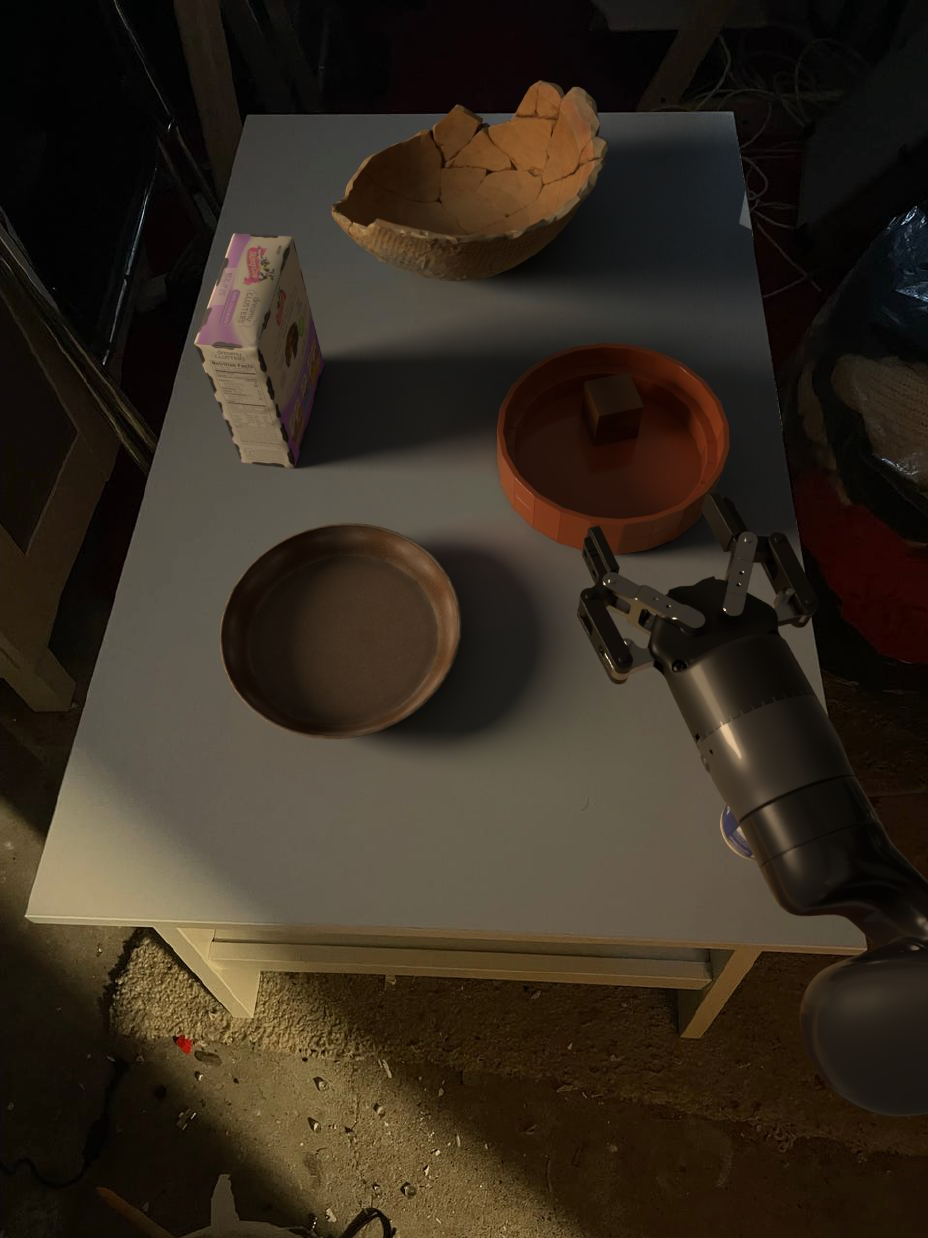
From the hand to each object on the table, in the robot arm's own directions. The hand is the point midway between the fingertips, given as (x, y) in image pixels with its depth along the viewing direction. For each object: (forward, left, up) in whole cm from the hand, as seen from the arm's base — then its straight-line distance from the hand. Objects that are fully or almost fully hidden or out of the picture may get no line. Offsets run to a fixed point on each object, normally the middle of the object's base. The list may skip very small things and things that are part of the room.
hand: (650, 516), depth 60 cm
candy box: (+35, -23, -20) cm, 46 cm away
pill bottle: (-11, +15, -20) cm, 28 cm away
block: (+2, -24, -19) cm, 31 cm away
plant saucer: (+24, +2, -20) cm, 31 cm away
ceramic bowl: (+19, -50, -20) cm, 57 cm away
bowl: (+2, -20, -20) cm, 28 cm away
